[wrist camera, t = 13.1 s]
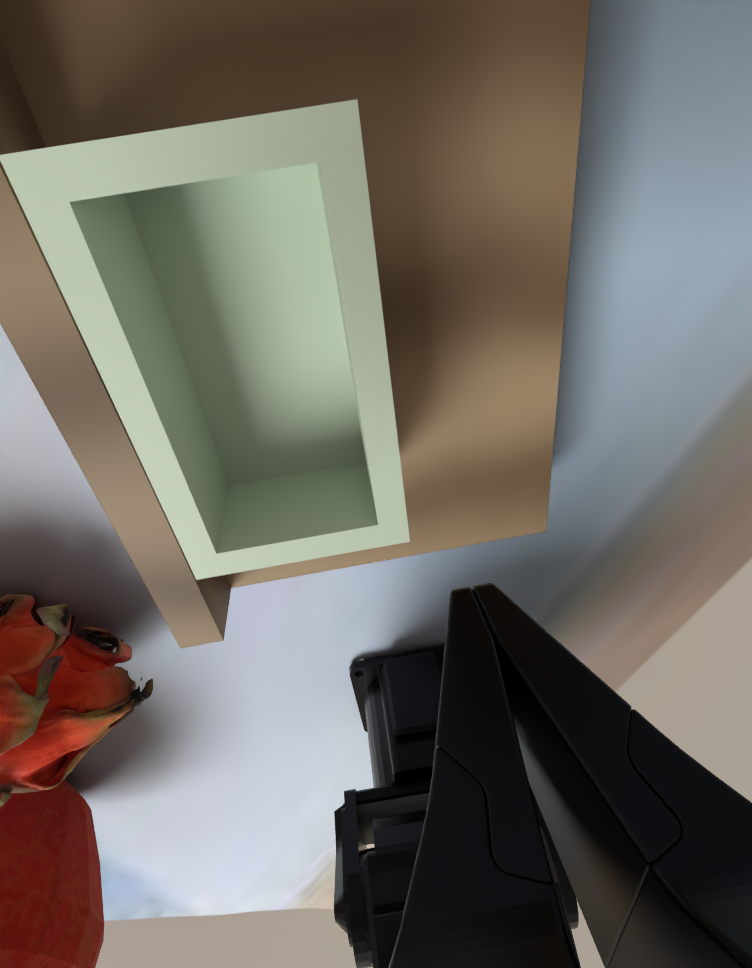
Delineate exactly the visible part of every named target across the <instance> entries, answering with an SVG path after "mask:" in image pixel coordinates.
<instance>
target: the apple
mask: <svg viewBox="0 0 752 968" xmlns="http://www.w3.org/2000/svg"><path fill="white" fill-rule="evenodd" d="M103 935H104V916H103V902H102V888H101V873H100V861H99V855H98V849H97V843H96V837H95V831H94V824H93V818H92V812H91V809H90V807H89V805H88V804H87V802H86V801H85V799H84V798H83V797H82V796H81V795H80V794H79V793H78V792H77V791H76V790H75V788H74V787H73V786H72V785H71V784H70V783H69V782H68V781H67V780H65V779H64V780H63V781H62V782H61V783H60V784H59V785H57V786H56V787H54V788H52V789H49V790H41V791H37V792H27V793H11V797H10V798H9V799H8V800H7V801H6V802H5V803H4V804H3V805H2V806H1V807H0V968H95V966H96V963H97V959H98V956H99V953H100V949H101V946H102V943H103Z"/></svg>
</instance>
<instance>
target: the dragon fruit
mask: <svg viewBox="0 0 752 968" xmlns="http://www.w3.org/2000/svg"><path fill="white" fill-rule="evenodd" d="M34 602H35V600H34V597H33V596H31V595H18V594H7V595H5V596H3V597H0V608H2V607H4V606H5V605H7V604H9V603H13V604H12V606H11V608H10V609H9V610H8V612H7V613H6V615H4V616H0V807H1V806H2V805H3V804H4V803H5V802H6V801H7V800H8V799H9V798H10V797H11V793H27V792H37V791H41V790H49V789H52V788H54V787H56V786H57V785H59V784H60V783H61V782H62V781H63V780H64V779H65V777H66V776H67V775H68V774H69V773H70V772H71V771H72V770H73V769H74V768H75V766H76V765H77V763H78V762H79V761H80V760H81V759H82V757H83V756H84V755H85V754H86V753H87V751H88V750H89V749H90V748H91V747H92V746H94V745H95V744H96V743H97V742H98V743H99V742H100V741H101V740H102V739H103V738H104V737H105V736H106V735H107V734H108V733H109V732H110V731H111V730H112V729H113V728H114V727H115V726H116V725H117V724H118V723H119V722H120V721H121V720H122V719H125V718H126V717H127V716H128V715H129V714H130V713H132V712H133V710H134V708H135V707H136V706H138V705H140V704H141V702H142V701H143V700H145V699H146V698H149V697H150V695H151V693H152V690H153V679H151V680H148V682H147V683H146V685H145V687H144V689H143V690H142V691H141V692H140V687H139V686H138V688H137V689H136V683H135V681H133V680H131V678H130V677H129V676H128V671H126V670H124V669H123V668H121V667H118V666H114V665H115V664H117V663H123V662H126V661H129V660H130V659H131V657H132V649H131V647H130V646H129V645H127V644H125V643H123V642H122V641H123V640H122V639H121V641H120V640H119V639H120V638H119V639H118V638H117V637H115V636H113V635H112V634H111V633H110V631H109V630H107V629H104V628H98V627H96V625H95V626H86V627H79V628H81V629H85V630H91V631H96V633H89V632H87V633H86V634H87V636H89V637H92V638H95V639H97V640H100V641H103V642H106V643H109V644H112V645H111V646H108V645H104V646H95V645H93V644H91V643H90V642H88V641H87V640H86V639H85V638H84V637H82V636H81V635H80V634H79V633H76V632H73V627H74V623H75V617H74V616H72V617H71V613H70V609H69V606H68V605H66V604H60V605H55V606H48V607H41V608H38V609H37V613H38V614H39V616H40V618H41V620H42V622H43V623H44V624H45V625H44V626H41V625H39V624H38V623H37V622H36V621H35V620H34V618H33V616H32V614H31V609H32V607H33V605H34ZM114 647H116V649H117V651H116V652H112V651H113V649H114ZM140 668H141V667H140ZM141 680H142V678H141ZM141 680H140V681H141Z"/></svg>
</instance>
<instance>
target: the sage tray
mask: <svg viewBox="0 0 752 968" xmlns="http://www.w3.org/2000/svg"><path fill="white" fill-rule="evenodd" d="M0 161H1V163H2V165H3V168H4V170H5V172H6V174H7V176H8V178H9V180H10V183H11V185H12V187H13V189H14V191H15V193H16V195H17V198H18V200H19V202H20V204H21V206H22V208H23V210H24V212H25V215H26V217H27V219H28V221H29V223H30V225H31V227H32V230H33V232H34V234H35V236H36V238H37V240H38V242H39V245H40V247H41V249H42V251H43V253H44V255H45V257H46V260H47V262H48V264H49V266H50V268H51V270H52V272H53V274H54V277H55V279H56V281H57V283H58V285H59V287H60V289H61V292H62V294H63V296H64V298H65V300H66V302H67V304H68V307H69V309H70V311H71V313H72V315H73V317H74V319H75V322H76V324H77V326H78V328H79V330H80V332H81V334H82V337H83V339H84V341H85V343H86V345H87V347H88V349H89V351H90V354H91V356H92V358H93V360H94V362H95V364H96V366H97V369H98V371H99V373H100V375H101V377H102V379H103V381H104V384H105V386H106V388H107V390H108V392H109V394H110V396H111V399H112V401H113V403H114V405H115V407H116V409H117V411H118V413H119V416H120V418H121V420H122V422H123V424H124V426H125V428H126V431H127V433H128V435H129V437H130V439H131V441H132V443H133V446H134V448H135V450H136V452H137V454H138V456H139V458H140V461H141V463H142V465H143V467H144V469H145V471H146V473H147V475H148V478H149V480H150V482H151V484H152V486H153V488H154V490H155V493H156V495H157V497H158V499H159V501H160V503H161V505H162V508H163V510H164V512H165V514H166V516H167V518H168V520H169V523H170V525H171V527H172V529H173V531H174V533H175V535H176V538H177V540H178V542H179V544H180V546H181V548H182V550H183V552H184V555H185V557H186V559H187V561H188V563H189V565H190V567H191V570H192V572H193V574H194V576H195V578H196V580H199V579H204V578H210V577H216V576H221V575H227V574H232V573H238V572H244V571H249V570H255V569H260V568H266V567H272V566H277V565H283V564H288V563H294V562H299V561H305V560H311V559H316V558H322V557H327V556H333V555H339V554H344V553H350V552H355V551H361V550H366V549H372V548H378V547H383V546H389V545H394V544H400V543H406V542H410V537H409V529H408V521H407V512H406V504H405V495H404V487H403V479H402V470H401V462H400V453H399V445H398V437H397V428H396V420H395V411H394V403H393V395H392V386H391V378H390V369H389V361H388V353H387V344H386V336H385V327H384V319H383V310H382V302H381V294H380V285H379V277H378V268H377V260H376V252H375V243H374V235H373V226H372V218H371V210H370V201H369V193H368V184H367V176H366V168H365V159H364V151H363V142H362V134H361V125H360V117H359V109H358V100H357V99H356V100H350V101H343V102H337V103H330V104H324V105H317V106H311V107H305V108H298V109H292V110H285V111H279V112H273V113H266V114H260V115H253V116H247V117H240V118H234V119H228V120H221V121H215V122H208V123H202V124H196V125H189V126H183V127H176V128H170V129H163V130H157V131H151V132H144V133H138V134H131V135H125V136H119V137H112V138H106V139H99V140H93V141H86V142H80V143H74V144H67V145H61V146H54V147H48V148H42V149H35V150H29V151H22V152H16V153H9V154H3V155H0Z"/></svg>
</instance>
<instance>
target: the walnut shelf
mask: <svg viewBox="0 0 752 968" xmlns="http://www.w3.org/2000/svg"><path fill="white" fill-rule="evenodd" d="M590 1H591V0H0V155H3V154H9V153H16V152H22V151H29V150H35V149H42V148H48V147H54V146H61V145H67V144H74V143H80V142H86V141H93V140H99V139H106V138H112V137H119V136H125V135H131V134H138V133H144V132H151V131H157V130H163V129H170V128H176V127H183V126H189V125H196V124H202V123H208V122H215V121H221V120H228V119H234V118H240V117H247V116H253V115H260V114H266V113H273V112H279V111H285V110H292V109H298V108H305V107H311V106H317V105H324V104H330V103H337V102H343V101H350V100H356V99H357V100H358V109H359V117H360V125H361V134H362V142H363V151H364V159H365V168H366V176H367V184H368V193H369V201H370V210H371V218H372V226H373V235H374V243H375V252H376V260H377V268H378V277H379V285H380V294H381V302H382V310H383V319H384V327H385V336H386V344H387V353H388V361H389V369H390V378H391V386H392V395H393V403H394V411H395V420H396V428H397V437H398V445H399V453H400V462H401V470H402V479H403V487H404V495H405V504H406V512H407V521H408V529H409V537H410V542H406V543H400V544H394V545H389V546H383V547H378V548H372V549H366V550H361V551H355V552H350V553H344V554H339V555H333V556H327V557H322V558H316V559H311V560H305V561H299V562H294V563H288V564H283V565H277V566H272V567H266V568H260V569H255V570H249V571H244V572H238V573H232V574H227V575H221V576H216V577H210V578H204V579H199V580H196V578H195V576H194V574H193V572H192V570H191V567H190V565H189V563H188V561H187V559H186V557H185V555H184V552H183V550H182V548H181V546H180V544H179V542H178V540H177V538H176V535H175V533H174V531H173V529H172V527H171V525H170V523H169V520H168V518H167V516H166V514H165V512H164V510H163V508H162V505H161V503H160V501H159V499H158V497H157V495H156V493H155V490H154V488H153V486H152V484H151V482H150V480H149V478H148V475H147V473H146V471H145V469H144V467H143V465H142V463H141V461H140V458H139V456H138V454H137V452H136V450H135V448H134V446H133V443H132V441H131V439H130V437H129V435H128V433H127V431H126V428H125V426H124V424H123V422H122V420H121V418H120V416H119V413H118V411H117V409H116V407H115V405H114V403H113V401H112V399H111V396H110V394H109V392H108V390H107V388H106V386H105V384H104V381H103V379H102V377H101V375H100V373H99V371H98V369H97V366H96V364H95V362H94V360H93V358H92V356H91V354H90V351H89V349H88V347H87V345H86V343H85V341H84V339H83V337H82V334H81V332H80V330H79V328H78V326H77V324H76V322H75V319H74V317H73V315H72V313H71V311H70V309H69V307H68V304H67V302H66V300H65V298H64V296H63V294H62V292H61V289H60V287H59V285H58V283H57V281H56V279H55V277H54V274H53V272H52V270H51V268H50V266H49V264H48V262H47V260H46V257H45V255H44V253H43V251H42V249H41V247H40V245H39V242H38V240H37V238H36V236H35V234H34V232H33V230H32V227H31V225H30V223H29V221H28V219H27V217H26V215H25V212H24V210H23V208H22V206H21V204H20V202H19V200H18V198H17V195H16V193H15V191H14V189H13V187H12V185H11V183H10V180H9V178H8V176H7V174H6V172H5V170H4V168H3V165H2V163H1V161H0V324H1V326H2V327H3V329H4V331H5V333H6V335H7V336H8V338H9V340H10V342H11V344H12V345H13V347H14V349H15V351H16V353H17V354H18V356H19V358H20V360H21V362H22V363H23V365H24V367H25V369H26V371H27V372H28V374H29V376H30V378H31V380H32V382H33V383H34V385H35V387H36V389H37V391H38V392H39V394H40V396H41V398H42V400H43V401H44V403H45V405H46V407H47V409H48V410H49V412H50V414H51V416H52V418H53V419H54V421H55V423H56V425H57V427H58V428H59V430H60V432H61V434H62V436H63V437H64V439H65V441H66V443H67V445H68V446H69V448H70V450H71V452H72V454H73V455H74V457H75V459H76V461H77V463H78V464H79V466H80V468H81V470H82V472H83V473H84V475H85V477H86V479H87V481H88V482H89V484H90V486H91V488H92V490H93V491H94V493H95V495H96V497H97V499H98V500H99V502H100V504H101V506H102V508H103V510H104V511H105V513H106V515H107V517H108V519H109V520H110V522H111V524H112V526H113V528H114V529H115V531H116V533H117V535H118V537H119V538H120V540H121V542H122V544H123V546H124V547H125V549H126V551H127V553H128V555H129V556H130V558H131V560H132V562H133V564H134V565H135V567H136V569H137V571H138V573H139V574H140V576H141V578H142V580H143V582H144V583H145V585H146V587H147V589H148V591H149V592H150V594H151V596H152V598H153V600H154V601H155V603H156V605H157V607H158V609H159V610H160V612H161V614H162V616H163V618H164V619H165V621H166V623H167V625H168V627H169V628H170V630H171V632H172V634H173V636H174V638H175V639H176V641H177V643H178V645H179V647H180V648H185V647H191V646H196V645H202V644H207V643H212V642H218V641H223V640H224V633H225V626H226V619H227V612H228V605H229V598H230V591H231V588H234V587H240V586H245V585H251V584H256V583H262V582H267V581H273V580H278V579H284V578H289V577H295V576H301V575H306V574H312V573H317V572H323V571H328V570H334V569H339V568H345V567H350V566H356V565H362V564H367V563H373V562H378V561H384V560H389V559H395V558H400V557H406V556H412V555H417V554H423V553H428V552H434V551H439V550H445V549H450V548H456V547H461V546H467V545H473V544H478V543H484V542H489V541H495V540H500V539H506V538H511V537H517V536H522V535H528V534H534V533H539V532H545V531H546V526H547V514H548V502H549V490H550V478H551V466H552V455H553V443H554V431H555V419H556V407H557V395H558V383H559V371H560V359H561V347H562V335H563V323H564V311H565V299H566V287H567V276H568V264H569V252H570V240H571V228H572V216H573V204H574V192H575V180H576V168H577V156H578V144H579V132H580V120H581V109H582V97H583V85H584V73H585V61H586V49H587V37H588V25H589V13H590Z"/></svg>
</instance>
